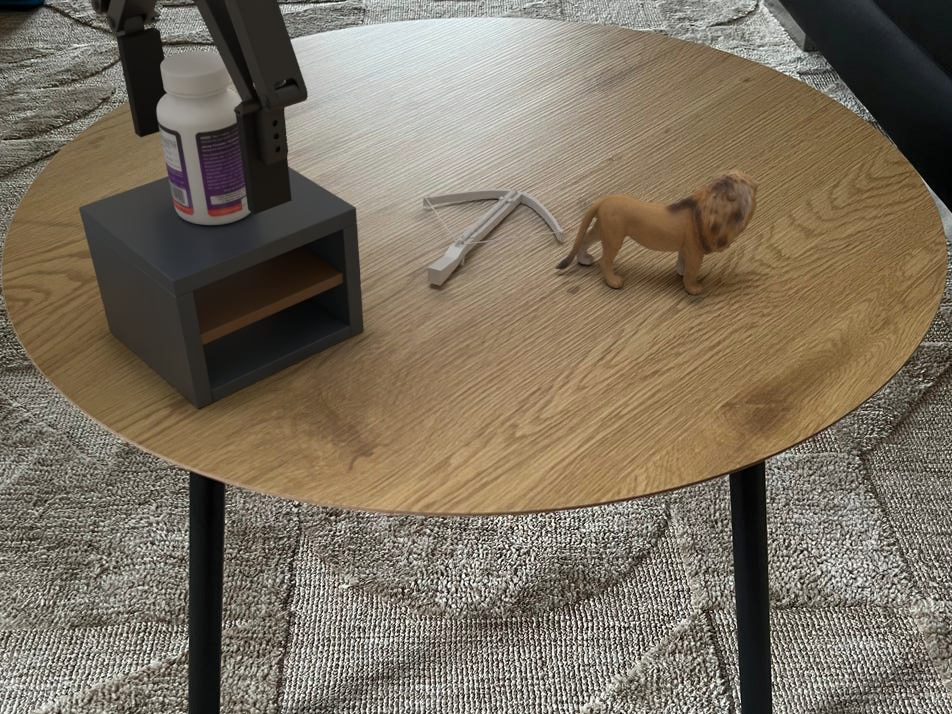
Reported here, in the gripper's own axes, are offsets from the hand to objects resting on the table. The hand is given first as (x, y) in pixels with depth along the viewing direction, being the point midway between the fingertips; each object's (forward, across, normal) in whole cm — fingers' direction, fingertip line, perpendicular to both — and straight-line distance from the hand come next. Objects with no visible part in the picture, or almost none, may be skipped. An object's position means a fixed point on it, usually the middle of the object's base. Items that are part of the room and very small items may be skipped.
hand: (210, 166), depth 71 cm
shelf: (+13, 0, 0) cm, 13 cm away
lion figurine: (+13, -15, -29) cm, 35 cm away
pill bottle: (+3, 0, 0) cm, 3 cm away
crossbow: (+13, -2, -22) cm, 26 cm away
